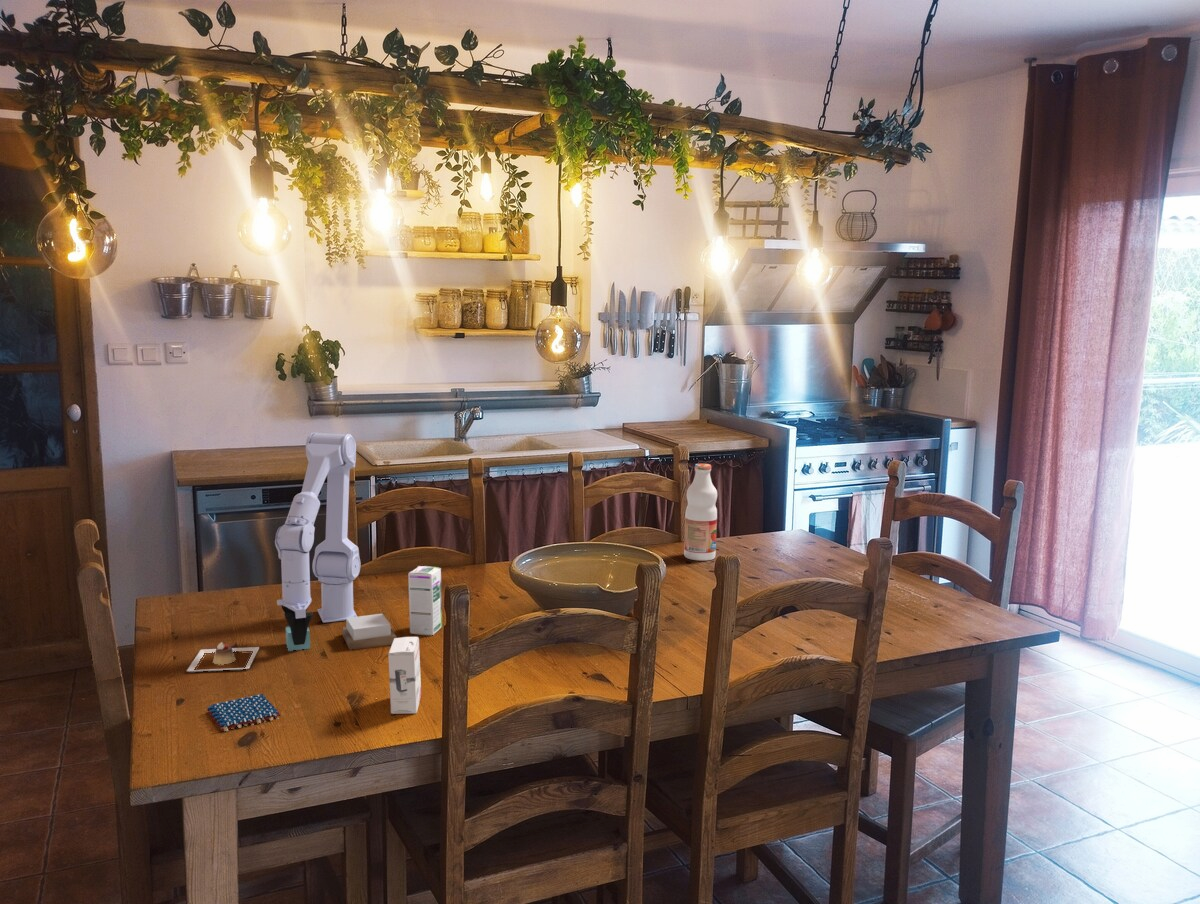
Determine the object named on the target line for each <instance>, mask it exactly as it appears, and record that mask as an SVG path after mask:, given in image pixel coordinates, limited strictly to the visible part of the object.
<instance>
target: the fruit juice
mask: <svg viewBox="0 0 1200 904" xmlns="http://www.w3.org/2000/svg"><path fill="white" fill-rule="evenodd" d="M711 471H712V465H711V464H709V463H695V464H694V472H695V474H694V477H693V481H692V483H691V484H690V485H689V486H688V488H687V490H686V499H687V506H686V508H685V514H684V515H685V516H684V541H683V542H684V544H683V555H684V557H685V558H686V559H689V560H692V561H701V562H703V561H711V560H713V559H715V558H716V555H717V554H716V553H717V551H716V550H717V529H718V528H717V525H718V508H717V507H716V505H717V504H716V503H717V499H718V490H717V489H716V487H715V486H714V484H713V482H712V481H713V480H712V477H711Z"/></svg>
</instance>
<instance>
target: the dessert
mask: <svg viewBox="0 0 1200 904" xmlns="http://www.w3.org/2000/svg"><path fill="white" fill-rule="evenodd" d="M259 650H260V646H256V647H255V646H253V647H252V646H251V647H250V646H249V647H232V646H229V644H228V643H226V642H225V641H222V642H220V643H218V644H217V647H216V648H209V649H207V648H205V649H204V648H203V649H200V650H199V651H198V652H197V654H196V656H195V658H193V660H192V662H191V663H190V665H189V667H188V668H187V669H186V672H188V673H201V672H202V673H203V671H208V672H224V671H223V670H230V671H244V670H243V669H246V670H249V669H250V668H251V665H252V664H253V662H254V660H255V657H256V656H257V653H258V651H259ZM234 651H235V652H236V651H253V653H252V652H251V653H252V655H251V654H250V655H251V657H250V656H249V657H250V659H249V658H248V659H249V661H248V660H247V661H248V663H247V662H246V663H247V665H246V664H245V665H246V667H245V666H244V667H245V668H244V667H236V668H235V667H234V668H231V667H229V668H212V669H211V668H209V669H196V670H194V669H195V667H196V666H197V664H198V663H199V661H200V659H201V658H202V657H203V655H204V653H212V652H213V653H214V652H215V654H213V655H214V656H213V659H212V664H213V663H214V664H218V665H217V666H225V665H224V664H228V663H232V662H234V661H235V660H236V661H237V659H236V656H235V653H233V652H234ZM203 658H204V657H203ZM236 661H235V662H236ZM235 662H234V663H235ZM214 664H213V665H214ZM220 664H221V665H220ZM232 664H233V663H232Z"/></svg>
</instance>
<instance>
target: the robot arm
mask: <svg viewBox="0 0 1200 904" xmlns="http://www.w3.org/2000/svg"><path fill="white" fill-rule="evenodd" d="M305 455H306V459H307V461H308V462H307V467H306V472H305V475H304V480H303V483H302V488H301V492H300V493H297V494H296V495H295V496H294V497H293V498H292V499H293V500H292V501H291V505H290V508H289V511H288V514H287V517H286V520H285V521H284V524H283V525H281V526H279V527H278V528H277V531H276V532H275V540H274V545H275V548H276V550H277V554H278V559H279V560H281V561H280V563H281V567H280V568H281V592H282V593H281V596H282V598H281V599H277V600H276V604H277V606H281V609H282V610H283V612H284V618H285V619H286V622H288V623H287V624H288V626H290V629H291V634H292V639H293V642H294V645H301V644H304V643H305V640H306V634H307V629H308V628H309V625H310V623H311V620H312V619H313V615H314V614H313V612H312V611H309V612H307V610H308V608H309V607H310V605H311V603H312V597H311V576H310V575H311V574H310V573H311V572H310V571H311V570H310V551H311V549H312V547H313V545H314V542H315V529H316V527H315V526H314V525H315V521H316V518H317V515H318V513H319V510H320V507H321V501H320V500H319V498H318V497H319V494H320V492H321V490H322V487H323V485H324V483H325V480H326V478H327V483H326V484H327V486H326V514H325V515H326V516H325V517H326V518H325V539H324V540H323V541H322V542H320V543H319V544H317V546H316V547H315V549H314V556H313V560H312V572H313V574H314V575H313V576H315V577H316V578H317V581H318V582H320V583H321V584H320V588H321V589H320V590H321V591H320V592H321V595H320V596H321V608H318V609H317V613H318V615H319V617H320V619H321V621H322V623H332V622H342V621H346V618H351V617H358V615H357V613H356V611H355V610H354V580H356V578H357V577H358V576H359V575H360V571H361V559H360V550H359V547H358V545H356V544H355V543H353V541H351V540H350V539H349V538H348V530H349V529H348V528H349V525H348V524H349V502H350V501H349V499H350V497H349V496H350V495H349V494H350V470H352V469H354V468H356V462H357V443H356V440H355V438H354V437H353V436H352V434H351V433H346V434H343V433H325V432H316V431H314V432H311V433H310V434H309V435H308V437H307V439H306V441H305Z"/></svg>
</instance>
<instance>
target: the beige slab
mask: <svg viewBox="0 0 1200 904" xmlns="http://www.w3.org/2000/svg"><path fill="white" fill-rule="evenodd" d="M341 631H342V637H343V639H344V642H345V643H346V645H347V647H348V650H350V651H352V649H354V650H360V649H361V648H362V649H368V648H376V647H385V646H392V643H393V640H394V638H397V635H396V634H395V632H394V630H393V629H392V628H391V635H390V636H383V637H376V638H369V639H362V640H355V641H354V640H353V638H352V637H351V635H350V634H349V632H348V630H347V629H346V626H342V630H341Z"/></svg>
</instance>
